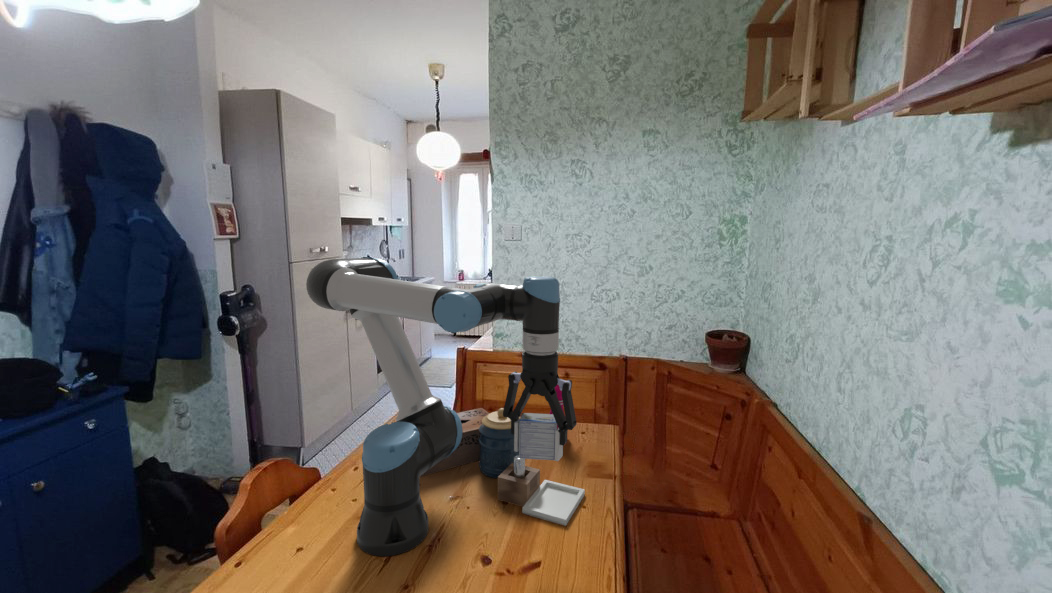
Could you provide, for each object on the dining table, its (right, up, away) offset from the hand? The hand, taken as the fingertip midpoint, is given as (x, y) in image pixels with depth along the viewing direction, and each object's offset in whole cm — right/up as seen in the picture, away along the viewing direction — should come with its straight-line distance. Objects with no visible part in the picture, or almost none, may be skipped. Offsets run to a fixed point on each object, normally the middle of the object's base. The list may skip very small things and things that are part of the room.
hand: (538, 453), depth 98 cm
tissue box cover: (-24, -14, +40) cm, 49 cm away
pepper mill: (+7, -13, +52) cm, 54 cm away
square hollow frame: (-4, -17, +18) cm, 25 cm away
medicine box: (0, -1, 0) cm, 1 cm away
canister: (-10, -15, +32) cm, 37 cm away
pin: (-4, -17, +18) cm, 25 cm away
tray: (+4, -17, +15) cm, 23 cm away
